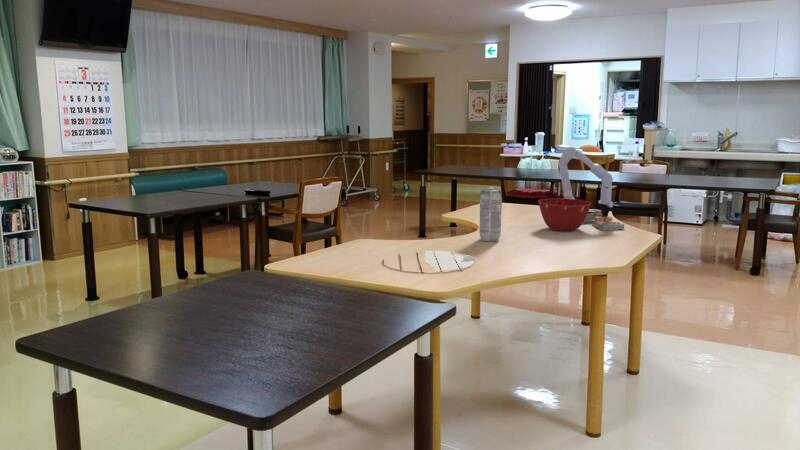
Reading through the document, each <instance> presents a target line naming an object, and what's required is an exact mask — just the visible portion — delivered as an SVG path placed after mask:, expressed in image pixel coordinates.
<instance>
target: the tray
mask: <svg viewBox="0 0 800 450" xmlns="http://www.w3.org/2000/svg"><path fill="white" fill-rule="evenodd" d="M595 228H596V229H598V230H601V231H611V230H612V231H614V230H615V231H616V230H617V231H618V229H624V230H625V224H624V223H621V222H619V221H616V224H615V225H602V224H599V223H596V227H595Z"/></svg>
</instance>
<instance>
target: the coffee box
mask: <svg viewBox="0 0 800 450" xmlns="http://www.w3.org/2000/svg"><path fill="white" fill-rule="evenodd" d="M594 217H602V212H601V209H596V208H592V209H591V208H589V211H588V214H587V216H586V218H585V220H584V222H583V223H582V224H584V223H592V220H594Z"/></svg>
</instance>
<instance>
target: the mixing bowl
mask: <svg viewBox="0 0 800 450" xmlns="http://www.w3.org/2000/svg"><path fill="white" fill-rule="evenodd" d="M538 205H539V209H540V213H541V217H542V219H543V221H544V223H545V225H546V226H547V227H548V228H550V229H551V230H553V231H558V232H559V231H560V232H572V231H576V230H578V229H579V228H580V227H581V226H582V225H583V224H584V223H583V222H584V220H585V218H586V216H587V214H588V211H589V209H591V208H590V207H591V205H592V202H590V201H587V200H583V199H565V198H541V199H538Z"/></svg>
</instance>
